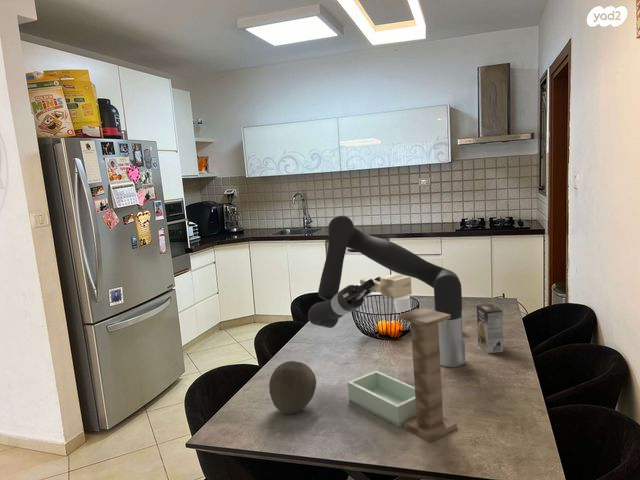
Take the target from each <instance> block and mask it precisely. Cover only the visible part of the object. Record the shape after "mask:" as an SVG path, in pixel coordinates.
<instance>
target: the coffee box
mask: <svg viewBox="0 0 640 480" xmlns="http://www.w3.org/2000/svg"><path fill="white" fill-rule="evenodd" d="M503 313H504V312H503V310H502V309H501V308H499V307H498V306H496V305H494V304H493V303H489V304H488V303H487V304H486V303H484V304H478V305H477V304H476V318H477V319H476V320H477V322H476V323H477V325H476V326H477V342H478V343H477V344H478V346H479V347H480V348H481V349H482V350H484V351H485V352H486V353H487V354H492V353H502V352H504V322H503V315H504V314H503Z"/></svg>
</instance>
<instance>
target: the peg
mask: <svg viewBox="0 0 640 480" xmlns="http://www.w3.org/2000/svg"><path fill="white" fill-rule="evenodd" d="M380 277H381V278H380V281H377V280H374V279H373V281H374V284H375V285H374V286H373V287H371V288H370V289H368V290H372V291H376V292H375V293H380V296H383V297H388V298H392V299H394V300H395V299H397V298H400V297H403V296H407V295H408V296H410V295H412V293H413V292H412V277H411V276H406V275H402V274H399V273H393V274H390V275H389V274H388V275H386V276H380ZM369 279H370V278H367V277H366V278H361V279H359V284H361V283H365V282H366V281H368V280H369Z"/></svg>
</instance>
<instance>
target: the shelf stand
mask: <svg viewBox="0 0 640 480" xmlns="http://www.w3.org/2000/svg"><path fill="white" fill-rule="evenodd" d="M398 316H399V319H401V320H405V321H408V322H410V331H411V332H410V333H411V345H412V347H411V348H412V361H413V362H412V363H413V364H412V365H413V381H414V382H413V383H414V387H415V401H416V416H415V417H413V418H411V419H409V420H407V421H405V422H404V425H403V428H405V429H406V430H408V431H410V432H412V433H414V434H416V435H417V436H419V437H421V438H423V439H425V440H426V441H428V442H430V443H434V442H435V441H437V440H438V439H441V438H442V437H444V436H445V435H447V434H449V433H452V432H454V431H455V430H456V429H458V426H457V425H458V424H457V422H455V421H453V420H451V419H450V418H447V417H445V416H444V411H443V410H444V409H443V394H442V393H443V391H442V390H443V389H442V372H441V371H442V370H441V367H442V366H441V365H440V347H439V327H438V323H439V322H442V321H445V320H447V319H450V318H451V315H450V314H446V313H442V312H438V311H435V309H429V308H426V307H420V308H419V307H418V308H417V309H412V310H410V312H407V313H404V314H401V315H398Z"/></svg>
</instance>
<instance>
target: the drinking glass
mask: <svg viewBox="0 0 640 480" xmlns="http://www.w3.org/2000/svg"><path fill="white" fill-rule="evenodd" d="M408 310H410V311H411V297H410V295H407V296H403V297H400V298H397V299H395V298H394V311H395V314H396V313H401V312H405V311H408Z"/></svg>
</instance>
